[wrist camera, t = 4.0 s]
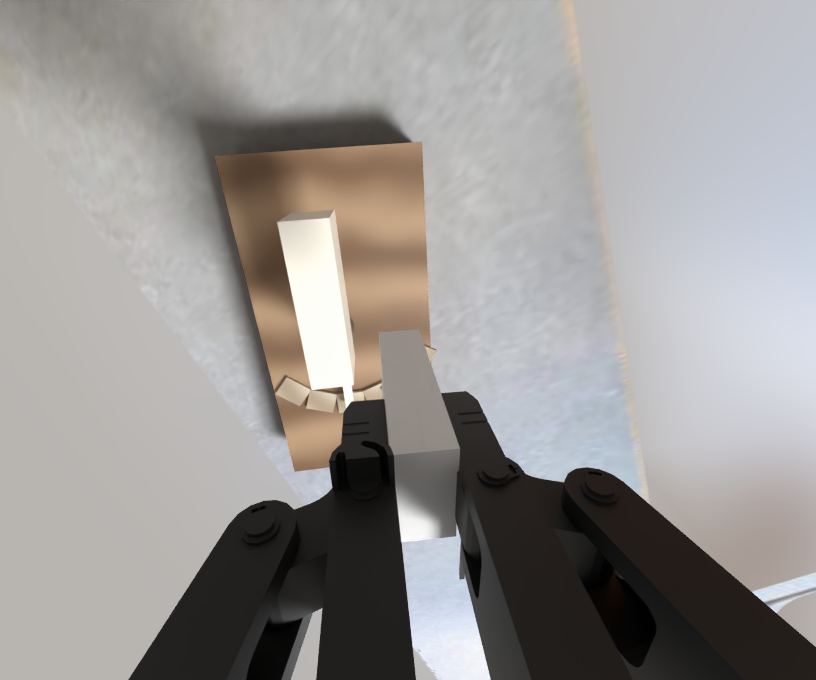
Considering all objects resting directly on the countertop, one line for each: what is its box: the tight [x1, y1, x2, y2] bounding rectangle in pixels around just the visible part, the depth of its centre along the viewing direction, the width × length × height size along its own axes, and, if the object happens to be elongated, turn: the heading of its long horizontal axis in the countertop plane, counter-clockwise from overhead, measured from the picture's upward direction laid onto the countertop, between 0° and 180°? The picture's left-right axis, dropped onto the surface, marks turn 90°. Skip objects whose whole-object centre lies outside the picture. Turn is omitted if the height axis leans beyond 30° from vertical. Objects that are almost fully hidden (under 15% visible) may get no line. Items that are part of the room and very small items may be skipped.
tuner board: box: [214, 142, 436, 471], centre depth 33 cm, size 28×14×4 cm, turn 4°
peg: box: [277, 209, 355, 408], centre depth 27 cm, size 17×3×9 cm, turn 4°
